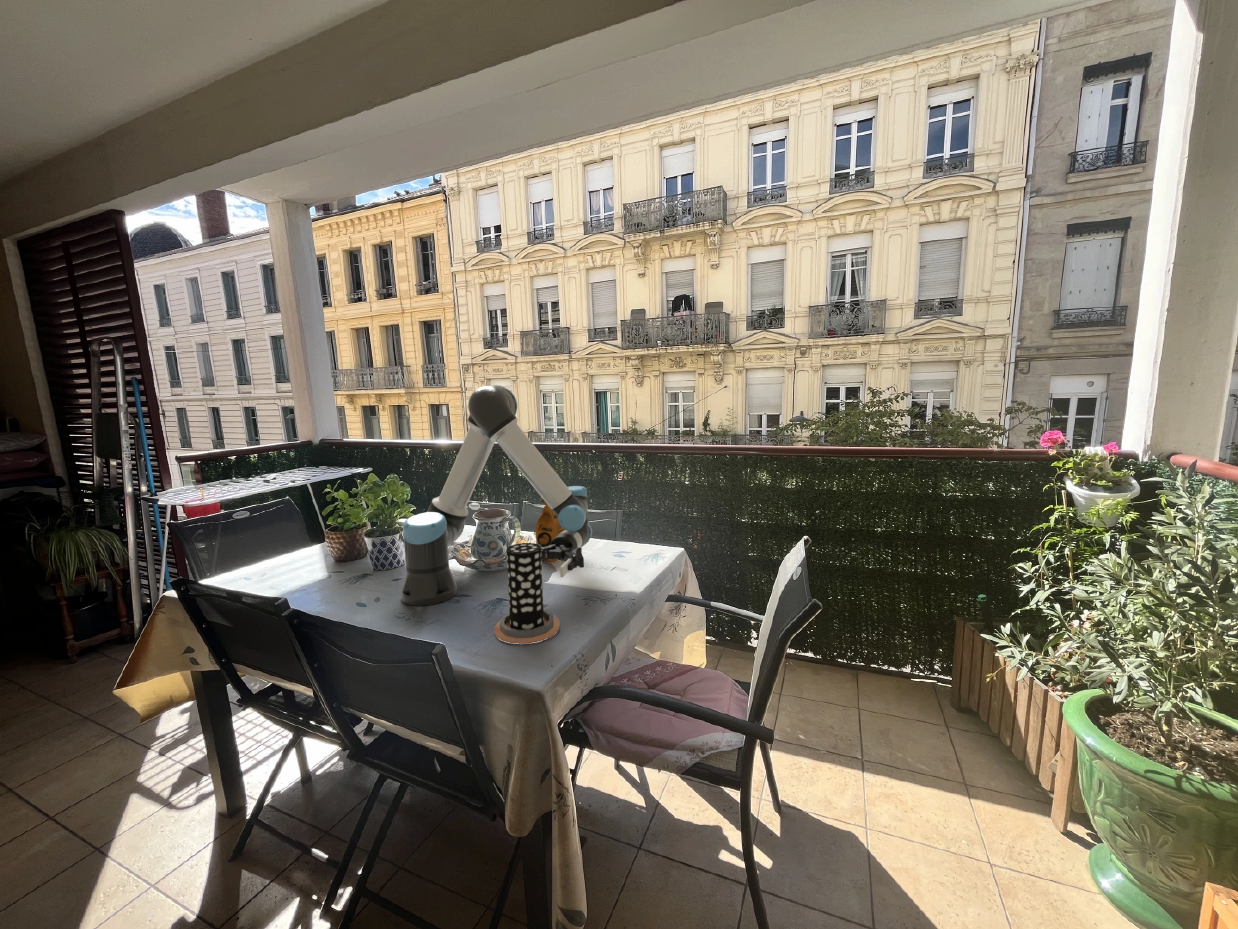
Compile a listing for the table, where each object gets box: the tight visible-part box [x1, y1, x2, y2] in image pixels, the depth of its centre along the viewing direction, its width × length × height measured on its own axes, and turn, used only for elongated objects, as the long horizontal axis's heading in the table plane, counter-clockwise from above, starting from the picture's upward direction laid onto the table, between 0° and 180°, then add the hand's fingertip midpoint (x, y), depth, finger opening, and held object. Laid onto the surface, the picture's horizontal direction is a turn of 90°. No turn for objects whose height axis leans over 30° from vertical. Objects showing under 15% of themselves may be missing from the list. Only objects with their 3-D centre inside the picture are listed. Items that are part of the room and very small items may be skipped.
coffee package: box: [534, 498, 565, 563], centre depth 180 cm, size 10×12×22 cm
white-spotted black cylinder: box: [506, 542, 544, 630], centre depth 126 cm, size 8×8×20 cm
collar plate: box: [494, 608, 561, 644], centre depth 127 cm, size 16×16×3 cm
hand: (536, 570), depth 132 cm, fingers open, 13 cm apart
